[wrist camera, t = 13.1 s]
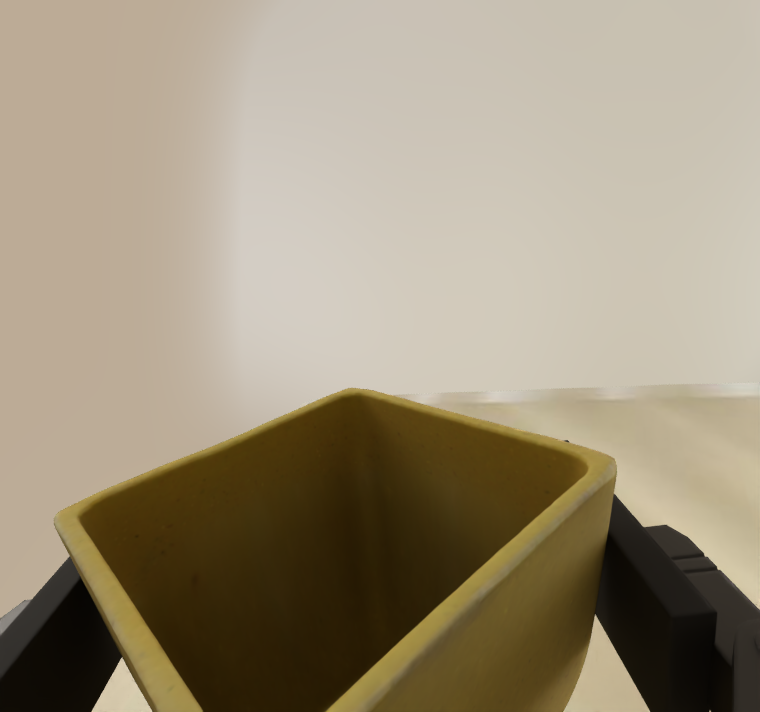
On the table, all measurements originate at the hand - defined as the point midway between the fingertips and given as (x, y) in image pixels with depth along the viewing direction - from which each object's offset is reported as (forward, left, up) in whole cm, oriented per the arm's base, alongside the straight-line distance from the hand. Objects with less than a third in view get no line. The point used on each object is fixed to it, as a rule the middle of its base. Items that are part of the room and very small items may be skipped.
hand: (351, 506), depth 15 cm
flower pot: (-3, +3, -6) cm, 7 cm away
